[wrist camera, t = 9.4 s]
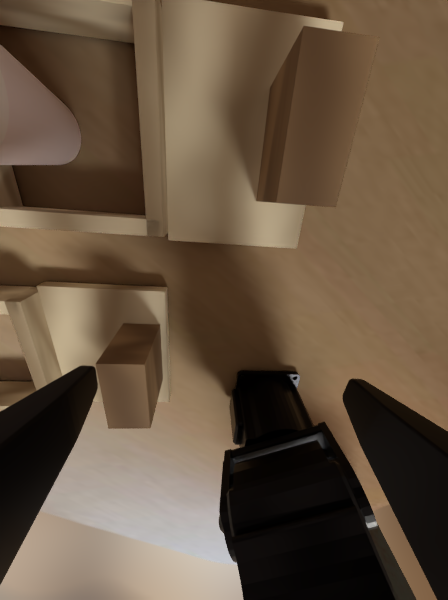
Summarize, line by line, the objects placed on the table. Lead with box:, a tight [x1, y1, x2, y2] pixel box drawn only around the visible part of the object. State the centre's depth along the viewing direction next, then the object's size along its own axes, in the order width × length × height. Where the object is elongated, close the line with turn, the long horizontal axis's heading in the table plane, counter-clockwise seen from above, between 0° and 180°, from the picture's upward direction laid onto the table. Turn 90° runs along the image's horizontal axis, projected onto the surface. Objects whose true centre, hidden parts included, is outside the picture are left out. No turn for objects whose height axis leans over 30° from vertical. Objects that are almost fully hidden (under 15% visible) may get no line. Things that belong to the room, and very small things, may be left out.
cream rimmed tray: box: [0, 0, 380, 249], centre depth 12 cm, size 20×12×6 cm, turn 86°
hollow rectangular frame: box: [0, 281, 171, 429], centre depth 17 cm, size 20×12×6 cm, turn 86°
